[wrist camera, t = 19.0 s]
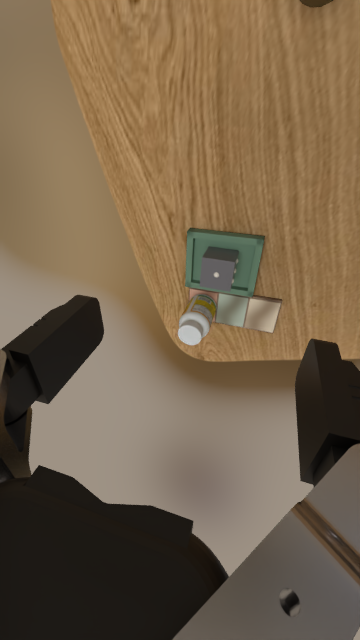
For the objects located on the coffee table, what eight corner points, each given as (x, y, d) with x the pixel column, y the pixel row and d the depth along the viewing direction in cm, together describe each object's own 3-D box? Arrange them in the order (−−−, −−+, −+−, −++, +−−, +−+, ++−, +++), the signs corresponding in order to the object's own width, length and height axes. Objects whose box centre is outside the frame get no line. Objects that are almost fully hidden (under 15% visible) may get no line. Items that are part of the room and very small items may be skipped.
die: (240, 250, 44) (236, 263, 40) (235, 279, 47) (231, 294, 43) (208, 246, 45) (201, 257, 41) (205, 274, 48) (198, 288, 44)
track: (282, 299, 47) (282, 302, 46) (273, 331, 51) (273, 334, 50) (190, 284, 51) (189, 287, 50) (188, 315, 55) (187, 318, 54)
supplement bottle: (210, 289, 49) (197, 318, 42) (221, 313, 51) (211, 345, 44) (184, 297, 52) (168, 325, 44) (196, 320, 54) (182, 350, 46)
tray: (264, 236, 42) (264, 239, 41) (253, 292, 48) (252, 297, 46) (190, 227, 45) (187, 231, 43) (187, 282, 51) (185, 286, 49)
